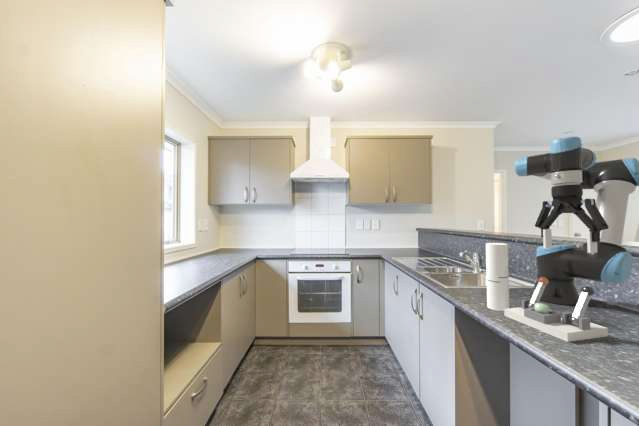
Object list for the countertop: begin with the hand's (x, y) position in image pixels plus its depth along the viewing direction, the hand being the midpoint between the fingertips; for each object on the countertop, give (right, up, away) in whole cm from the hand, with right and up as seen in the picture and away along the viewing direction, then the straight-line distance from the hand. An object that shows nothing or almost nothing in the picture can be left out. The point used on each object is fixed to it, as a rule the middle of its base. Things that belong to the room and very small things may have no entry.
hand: (568, 250), depth 86 cm
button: (-11, -20, -2) cm, 23 cm away
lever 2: (-6, -21, -8) cm, 23 cm away
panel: (-6, -24, -1) cm, 25 cm away
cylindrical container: (-13, -25, +15) cm, 32 cm away
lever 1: (-8, -22, +5) cm, 24 cm away
